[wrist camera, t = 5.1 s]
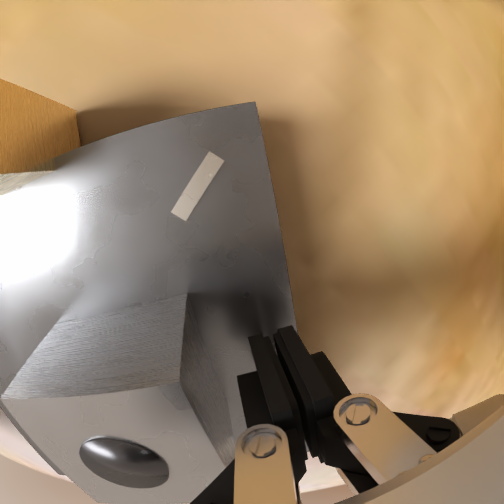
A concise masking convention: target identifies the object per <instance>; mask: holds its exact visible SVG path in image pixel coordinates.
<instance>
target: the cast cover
mask: <svg viewBox="0 0 504 504" xmlns="http://www.w3.org/2000/svg"><path fill="white" fill-rule="evenodd" d="M0 399H1V401H2V402H3V404H4V405H5V406H6V408H7V409H8V410H9V412H10V413H11V414H12V416H13V417H14V418H15V420H16V421H17V422H18V423H19V425H20V426H21V427H22V428H23V430H24V431H25V432H26V433H27V434H28V436H29V437H30V438H31V439H32V440H33V441H34V443H35V444H36V445H37V446H38V447H39V448H40V449H41V450H42V451H43V453H44V454H45V455H46V456H47V457H48V458H49V459H50V460H51V461H52V462H53V463H54V464H55V465H56V466H57V467H58V468H59V469H60V470H61V471H62V472H63V473H64V474H65V475H66V476H67V477H69V478H70V479H71V480H72V481H73V482H74V483H75V484H77V486H79V487H80V488H81V489H82V490H83V491H84V492H86V493H87V494H88V495H89V496H90V497H92V498H93V499H94V500H95V501H97V502H98V503H109V504H183V503H191V502H192V501H193V500H194V499H195V498H196V497H197V496H198V495H199V494H200V493H201V492H202V491H203V490H204V489H205V488H206V487H207V486H208V485H209V484H210V483H211V482H212V481H213V480H214V479H215V478H216V477H217V476H218V475H219V474H220V473H221V472H222V471H223V470H224V469H225V468H226V467H227V466H228V465H229V464H230V463H231V462H232V461H233V460H234V458H235V444H234V438H233V432H232V425H231V419H230V412H229V406H228V404H227V401H226V399H225V396H224V394H223V391H222V389H221V386H220V384H219V381H218V379H217V376H216V373H215V371H214V368H213V366H212V363H211V360H210V358H209V355H208V352H207V349H206V347H205V344H204V341H203V338H202V336H201V333H200V330H199V327H198V324H197V321H196V318H195V315H194V313H193V310H192V307H191V304H190V301H189V297H188V294H187V293H186V294H182V295H178V296H174V297H170V298H166V299H162V300H157V301H153V302H149V303H145V304H141V305H137V306H132V307H128V308H124V309H120V310H115V311H111V312H107V313H102V314H98V315H93V316H89V317H85V318H80V319H76V320H71V321H67V322H62V323H57V324H55V325H54V327H53V328H52V329H51V330H50V332H49V333H48V334H47V335H46V337H45V338H44V339H43V340H42V342H41V343H40V344H39V345H38V347H37V348H36V349H35V351H34V352H33V353H32V355H31V356H30V357H29V358H28V360H27V361H26V362H25V364H24V365H23V367H22V368H21V369H20V371H19V372H18V373H17V375H16V376H15V378H14V379H13V380H12V382H11V383H10V385H9V386H8V388H7V389H6V391H5V392H4V393H3V395H2V396H1V398H0Z"/></svg>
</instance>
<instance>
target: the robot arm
mask: <svg viewBox="0 0 504 504" xmlns="http://www.w3.org/2000/svg"><path fill="white" fill-rule="evenodd" d="M277 331H278V333H276V334H273V338H274V343H275V347H276V351H275V349H274V347H273V344H272V342H271V340H270V337H269V336H265V337H263V334H262V333H261V334H258V335H254V336H250V337H248V340H249V344H250V348H251V351H252V355H253V359H254V362H255V366H256V370H257V371H253V372H249V373H245V374H241V375H237V382H238V387H239V392H240V397H241V402H242V407H243V412H244V416H245V421H246V426H247V429H246V430H245V431H244V432H243V433H241V434H240V436H239V437H238V439H237V441H236V445H235V458H234V460H233V461H232V462H231V463H230V464H229V465H228V466H227V467H226V468H225V469H224V470H223V471H222V472H221V473H220V474H219V475H218V476H217V477H216V478H215V479H214V480H213V481H212V482H211V483H210V484H209V485H208V486H207V487H206V488H205V489H204V490H203V491H202V492H201V493H200V494H199V495H198V496H197V497H196V498H195V499H194V500H193V501H192V502H191V503H190V504H302V502H301V495H300V488H299V481H300V480H301V478H302V477H303V475H304V474H305V473H306V471H307V470H306V465H305V460H307V459H308V457H307V451H306V445H305V442H306V444H307V446H308V449H309V451H310V454H311V456H312V458H314V457H317V456H318V458H319V460H320V462H321V463H323V462H325V464H326V465H329V466H332V467H335V468H336V470H337V472H338V474H339V475H340V476H341V478H342V479H343V480H344V482H345V483H346V484H347V486H348V487H349V488H350V490H351V491H352V492H353V494H354V495H355V496H353V497H351V498H348V499H345V500H343V501H340V502H338V503H335V504H504V394H499V395H495V396H493V397H491V398H489V399H487V400H485V401H483V402H481V403H478V404H476V405H474V406H472V407H470V408H467V409H465V410H463V411H460V412H458V413H456V414H453V416H452V418H450V419H446V418H442V417H431V416H421V415H413V414H405V413H398V412H392V411H390V410H389V409H388V408H387V407H386V406H385V405H384V404H383V403H382V402H381V401H380V400H379V399H377V398H376V397H374V396H372V395H369V394H361V393H359V394H351V393H350V391H349V390H348V388H347V387H346V385H345V384H344V382H343V381H342V379H341V378H340V376H339V375H338V373H337V372H336V370H335V369H334V367H333V366H332V364H331V363H330V361H329V360H328V358H327V357H326V355H325V354H324V353H323V352H322V351H321V352H318V353H315V354H311V355H310V354H309V353H308V351H307V349H306V348H305V346H304V344H303V343H302V341H301V339H300V337H299V336H298V334H297V332H296V331H295V329H294V327H293V326H292V325H290V326H286V327H283V328H279V329H277ZM276 352H277V354H276Z"/></svg>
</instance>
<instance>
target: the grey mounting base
mask: <svg viewBox="0 0 504 504" xmlns="http://www.w3.org/2000/svg"><path fill="white" fill-rule="evenodd" d="M186 293H187V294H188V297H189V301H190V304H191V307H192V310H193V313H194V315H195V318H196V321H197V324H198V327H199V330H200V333H201V336H202V338H203V341H204V344H205V347H206V349H207V352H208V355H209V358H210V360H211V363H212V366H213V368H214V371H215V373H216V376H217V379H218V381H219V384H220V386H221V389H222V391H223V394H224V396H225V399H226V401H227V404H228V406H229V412H230V419H231V425H232V432H233V438H234V444H235V445H236V441H237V439H238V437H239V436H240V434H241V433H243V432H244V431H245V430H246V429H247V426H246V421H245V416H244V412H243V407H242V402H241V397H240V392H239V387H238V382H237V375H241V374H245V373H249V372H253V371H257V370H256V366H255V362H254V359H253V355H252V351H251V348H250V344H249V340H248V337H250V336H254V335H258V334H261V333H262V334H263V337H265V336H269V337H270V340H271V342H272V344H273V347H274V349H275V351H276V347H275V343H274V338H273V334H276V333H278V331H277V329H279V328H283V327H286V326H290V325H292V326H293V327H294V329H295V331H296V332H297V327H296V320H295V314H294V307H293V301H292V295H291V288H290V282H289V276H288V270H287V264H286V258H285V252H284V247H283V241H282V235H281V229H280V224H279V218H278V213H277V207H276V202H275V197H274V191H273V186H272V181H271V176H270V170H269V165H268V160H267V155H266V150H265V145H264V140H263V136H262V131H261V126H260V121H259V116H258V112H257V107H256V102H249V103H243V104H237V105H231V106H225V107H220V108H215V109H210V110H205V111H200V112H195V113H191V114H186V115H182V116H178V117H174V118H170V119H166V120H162V121H158V122H155V123H151V124H148V125H144V126H141V127H137V128H134V129H131V130H127V131H124V132H121V133H118V134H115V135H112V136H109V137H106V138H103V139H100V140H98V141H95V142H92V143H89V144H87V145H84V146H81V145H80V138H79V132H78V125H77V118H76V110H74V109H71V108H69V107H67V106H65V105H62V104H60V103H58V102H56V101H53V100H51V99H49V98H46V97H44V96H42V95H39V94H37V93H34V92H32V91H30V90H27V89H25V88H22V87H20V86H17V85H15V84H12V83H10V82H7V81H5V80H2V79H0V398H1V396H2V395H3V393H4V392H5V391H6V389H7V388H8V386H9V385H10V383H11V382H12V380H13V379H14V378H15V376H16V375H17V373H18V372H19V371H20V369H21V368H22V367H23V365H24V364H25V362H26V361H27V360H28V358H29V357H30V356H31V355H32V353H33V352H34V351H35V349H36V348H37V347H38V345H39V344H40V343H41V342H42V340H43V339H44V338H45V337H46V335H47V334H48V333H49V332H50V330H51V329H52V328H53V327H54V325H55V324H57V323H62V322H67V321H71V320H76V319H80V318H85V317H89V316H93V315H98V314H102V313H107V312H111V311H115V310H120V309H124V308H128V307H132V306H137V305H141V304H145V303H149V302H153V301H157V300H162V299H166V298H170V297H174V296H178V295H182V294H186ZM297 334H298V333H297ZM276 354H277V352H276ZM0 407H1V408H2V410H3V411H4V412H5V414H6V415H7V416H8V418H9V419H10V420H11V422H12V423H13V424H14V426H15V427H16V428H17V429H18V431H19V432H20V433H21V434H22V435H23V437H24V438H25V439H26V440H27V441H28V442H29V444H30V445H31V446H32V447H33V448H34V449H35V450H36V451H37V453H38V454H39V455H40V456H41V457H42V458H43V459H44V460H45V461H46V462H47V463H48V464H49V465H50V466H51V467H52V468H53V469H54V470H55V471H56V472H57V473H58V474H60V475H65V474H64V473H63V472H62V471H61V470H60V469H59V468H58V467H57V466H56V465H55V464H54V463H53V462H52V461H51V460H50V459H49V458H48V457H47V456H46V455H45V454H44V453H43V451H42V450H41V449H40V448H39V447H38V446H37V445H36V444H35V443H34V441H33V440H32V439H31V438H30V437H29V436H28V434H27V433H26V432H25V431H24V430H23V428H22V427H21V426H20V425H19V423H18V422H17V421H16V420H15V418H14V417H13V416H12V414H11V413H10V412H9V410H8V409H7V408H6V406H5V405H4V404H3V402H2V401H1V399H0ZM305 445H306V451H307V452H308V451H309V449H308V446H307V444H306V442H305Z"/></svg>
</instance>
